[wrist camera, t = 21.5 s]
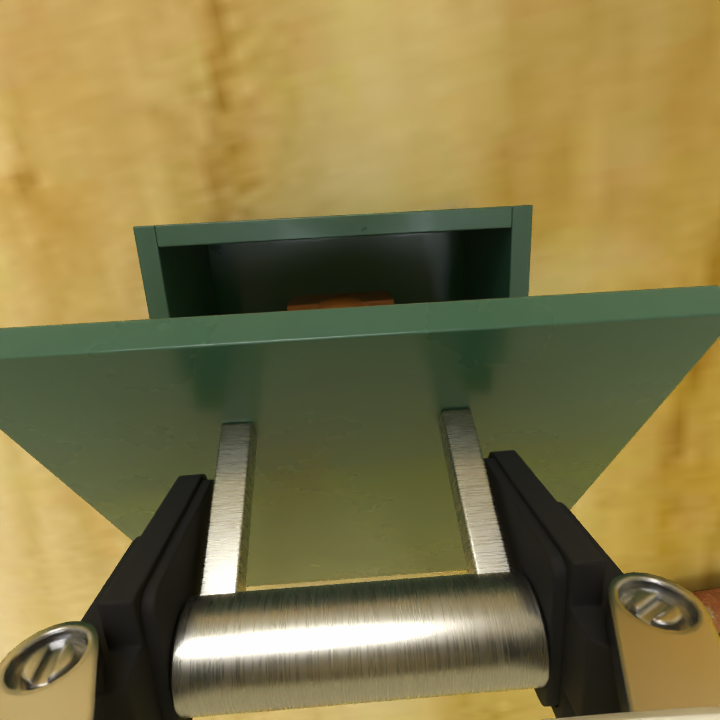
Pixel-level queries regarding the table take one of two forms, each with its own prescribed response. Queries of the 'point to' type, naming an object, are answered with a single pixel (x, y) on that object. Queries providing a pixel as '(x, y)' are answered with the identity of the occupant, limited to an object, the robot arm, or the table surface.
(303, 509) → the warmer lid
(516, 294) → the box
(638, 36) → the table surface
